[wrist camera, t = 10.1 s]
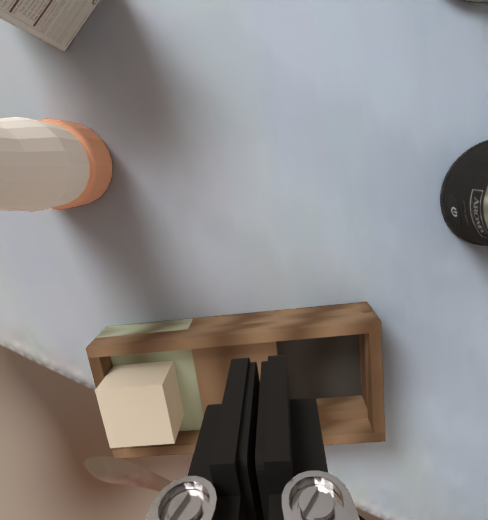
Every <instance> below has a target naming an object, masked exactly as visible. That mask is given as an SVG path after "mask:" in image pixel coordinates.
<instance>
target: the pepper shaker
mask: <svg viewBox="0 0 488 520" xmlns="http://www.w3.org/2000/svg"><path fill="white" fill-rule="evenodd" d="M111 178H112V161H111V157H110V153H109V150H108V149H107V147H106V145H105V144H104V142H103V140H102V139H101V138H100V137H99V136H98V135H97V134H96V133H95V132H94V131H92V130H91V129H89V128H87V127H85V126H83V125H81V124H76V123H71V122H66V121H61V120H55V119H48V118H46V119H41V120H33V119H27V118H21V117H12V118H0V210H4V211H30V212H33V211H39V210H45V209H49V208H52V209H58V210H60V209H66V208H72V207H77V206H81V205H85V204H89V203H91V202H93V201H95V200H97V199H98V198H100V197H101V196H102V195H103V193H104V192H105V191H106V190H107V189H108V186H109V184H110V181H111Z"/></svg>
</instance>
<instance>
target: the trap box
mask: <svg viewBox="0 0 488 520" xmlns="http://www.w3.org/2000/svg"><path fill="white" fill-rule="evenodd" d="M86 351H87V355H88V359H89V363H90V367H91V370H92V374H93V378H94V382H95V386H96V388H97V387H98V386H99V384H100V383H101V382H102V380H103V379H104V378H105V376H106V375H107V374H108V372H109V371H110V370H111V368H112V367H113V366H116V365H127V364H138V363H149V362H160V361H171V360H173V361H174V366H175V371H176V376H177V381H178V386H179V391H180V396H181V401H182V406H183V411H184V416H183V419H182V422H181V425H180V428H179V432H178V435H177V438H176V441H175V444H162V445H147V446H133V447H119V448H112V452H113V456H114V458H128V457H144V456H160V455H175V454H190V453H194V451H195V447H196V443H197V440H198V436H199V432H200V428H201V425H202V421H203V417H204V413H205V410H206V407H207V406H208V405H211V404H222V400H223V396H224V391H225V386H226V381H227V377H228V372H229V367H230V363H231V359H238V358H250V362H257V367H258V373H259V380H260V374H261V362H262V361H268V356H274V355H286V360H287V368H288V376H289V384H290V392H291V399H299V398H313V397H316V401H317V407H318V413H319V420H320V426H321V432H322V439H323V445H334V444H350V443H366V442H381V441H385V418H384V391H383V364H382V336H381V321H380V319H379V318H378V317H377V315H376V314H375V312H374V311H373V310H372V308H371V307H370V306H369V304H368V303H367V302H359V303H349V304H338V305H328V306H317V307H307V308H296V309H286V310H276V311H265V312H255V313H244V314H234V315H223V316H213V317H202V318H192V319H181V320H171V321H160V322H150V323H140V324H129V325H119V326H108V327H106V328H105V329H104V330H103V331H102V332H101V333H100V334H99V335H98V336H97V337H96V338H95V339H94V340H93V341H92V342H91V343H90V344H89V345H88V346H87V347H86Z"/></svg>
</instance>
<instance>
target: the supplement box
mask: <svg viewBox="0 0 488 520" xmlns="http://www.w3.org/2000/svg"><path fill="white" fill-rule="evenodd" d="M99 1H100V0H0V18H1V19H3V20H5V21H7V22H8V23H10V24H12V25H14V26H16V27H18V28H20V29H22V30H23V31H25V32H27V33H29V34H31V35H33V36H35V37H37V38H38V39H40V40H42V41H44V42H46V43H48V44H50V45H52V46H54V47H56V48H58V49H59V50H61V51H63V52H64V51H65V50H66V49H67V47H68V46H69V45H70V43H71V42H72V41H73V39H74V38H75V36H76V35H77V33H78V32H79V30H80V29H81V27H82V26H83V25H84V23H85V22H86V20H87V19H88V17H89V16H90V14H91V13H92V12H93V10H94V9H95V7H96V6H97V4H98V3H99Z"/></svg>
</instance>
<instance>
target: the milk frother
mask: <svg viewBox="0 0 488 520" xmlns="http://www.w3.org/2000/svg"><path fill="white" fill-rule="evenodd" d="M440 200H441V201H440V204H441V210H442V214H443V217H444V220H445V222H446V223H447V225H448V226H449V228H450V229H451V230H452V231H453V232H454V233H455V234H456V235H457V236H458V237H460V238H461V239H463V240H465V241H467V242H470V243H473V244H477V245H484V246H488V140H487V141H484V142H482V143H479V144H477V145H475V146H473V147H472V148H470V149H469V150H467V151H466V152H465V153H463V154H462V155H461V156H460V157H459V158H458V159H457V160H456V161H455V162H454V163H453V165H452V166H451V168H450V169H449V171H448V173H447V174H446V176H445V179H444V182H443V184H442V189H441V195H440Z"/></svg>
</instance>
